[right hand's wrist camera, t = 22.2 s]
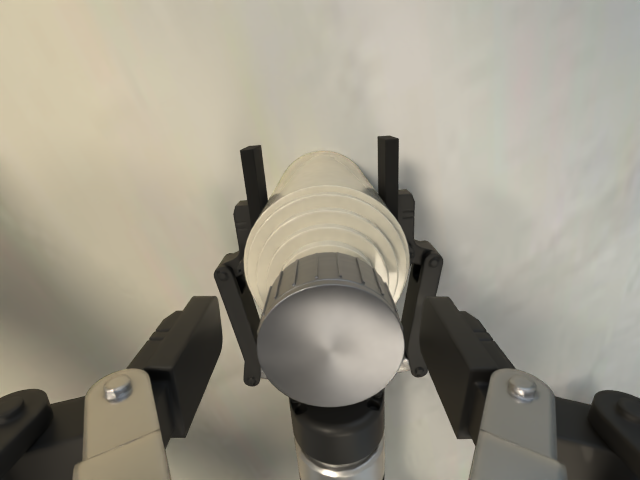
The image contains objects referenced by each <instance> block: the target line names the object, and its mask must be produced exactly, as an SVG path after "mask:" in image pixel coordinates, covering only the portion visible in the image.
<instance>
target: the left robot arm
mask: <svg viewBox="0 0 640 480" xmlns="http://www.w3.org/2000/svg"><path fill="white" fill-rule="evenodd" d="M240 154H241V160H242V167H243V174H244V181H245V187H246V194H247V200H244V201H240V202H239V203H238V204H237V205H236V206H235V210H234V214H233V215H234V221H235V227H236V233H237V239H238V245H239V251H238V252H236V253H229V254H227V255H226V256H225V257H224V258H223V260H222V261H221V263H220V264H219V266H218V267H217V269H216V270H215V272H214V278H215V281H216V283H217V286H218V289H219V292H220V294H221V297H222V300H223V303H224V305H225V308H226V311H227V313H228V316H229V319H230V322H231V324H232V327H233V330H234V333H235V335H236V338H237V341H238V344H239V346H240V349H241V352H242V355H243V357H244V360H245V365H244V382H245V384H246V385H248V386H256V385H258V384H259V382H260V378H263V379H268V378H267V377H266V375H265V374H264V372H263V370H262V368H261V366H260V363H259V360H258V356H257V348H256V347H257V336H258V335H257V331H258V327H259V324H260V318H259V315H258V312H257V309H256V306H255V303H254V300H253V297H252V294H251V291H250V289H249V287H248V284H247V281H246V277H245V272H244V251H245V246H246V242H247V239H248V236H249V234H250V232H251V229H252V228H253V226H254V224H255V223H256V221H257V219H258V217H259V216H260V214H261V212H262V210H263V209H264V207H265V205H266V204H267V202H268V198H267V190H266V182H265V174H264V166H263V158H262V150H261V145H256V146H248V147H246V148H244V149H242V150H240ZM398 163H399V139H398V138H395V137H392V136H378V195H379V196H380V197H381V199H382V200H383V202H384V203H385V204H386V206H387V207H388V208H389V210H390V211H391V213H392V214H393V215H394V217H395V218H396V220H397V221H398V223H399V224H400V226H401V228H402V230H403V232H404V234H405V237H406V240H407V243H408V248H409V255H410V266H411V264H412V266H411V271H410V277H409V282H408V288H407V293H406V298H405V304H404V309H403V315H402V320H401V324H402V326H403V332H404V337H405V352H404V357H403V361H402V363H401V366H400V368H399V370H398V372H397V373H399V372H404V371H408V370H411V373H412V375H413V376H415V377H423V376H424V375H426V373H427V372H428V368H427V366H426V364H425V361H424V359H423V357H422V354H421V350H420V344H419V334H420V326H421V317H422V309H423V302H424V299H425V297H436V293H437V288H438V284H439V279H440V275H441V270H442V265H443V259H442V257H441V255H440V254H439V253H438V252H437V251H436V250H435V248H434V247H433V246H432V245H431V244H430V243H429V242H428V241H418V240H415V239H414V210H415V201H414V199H413V196H412V194H411V193H410V192H409V191H408V190H406V189H403V190H398ZM410 266H409V268H410ZM384 389H385V388H383V389H382V390H381V391H379V392H378V393H377V394H375V395H373V396H372V397H370V398H368V399H366V400H364V401H361V402H358V403H355V404H351V405H347V406H340V407H319V406H313V405H308V404H305V403H301V402H299V401H297V400H294V399H292V398H290V397H289V402H290V409H291V417H292V424H293V432H294V436H295V438H294V440H295V447H296V454H297V461H298V468H299V475H300V480H384V469H385V436H384Z"/></svg>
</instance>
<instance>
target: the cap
mask: <svg viewBox="0 0 640 480" xmlns="http://www.w3.org/2000/svg"><path fill="white" fill-rule="evenodd" d="M257 335H258V336H257V347H256V348H257V356H258V360H259V363H260V366H261V368H262V370H263V372H264V374H265V375H266V377H267V378H268V380H269V381H270V382H271V383H272V384H273V385H274V386H275V387H276V388H277V389H278V390H279V391H281V392H282V393H284V394H285V395H287V396H288V397H290V398H292V399H294V400H297V401H299V402H301V403H305V404H308V405H313V406H319V407H340V406H347V405H351V404H355V403H358V402H361V401H364V400H366V399H368V398H370V397H372V396H373V395H375V394H377V393H378V392H379V391H381V390H382V389H383V388H385V387H386V386H387V385H388V384H389V383H390V382H391V380H392V379H393V378H394V376H395V375H396V373H397V372H398V370H399V368H400V366H401V363H402V361H403V357H404V352H405V337H404V332H403V326H402V324H401V321H400V318H399V316H398V313H397V308H396V306H395V303H394V300H393V298H392V295H391V293H390V290H389V288H388V285H387V283H386V282H385V283H384V281H383V279H382V278H381V276H380V275H379V274H378V273H377V272H376V269H375V268H372V267H371V266H370V265H368V264H367V263H365V262H364V261H362V260H360V259H359V258H358V257H353V256H351V255H347V254H343V253H339V252H336V253H335V252H323V253H315V254H312V255H308V256H305V257H303V258H300V259H297V260H296V261H295V262H293V263H291V264H290V265H289V266H287V267H286V268H285V269H284V270H283V271H280V274H279V275H278V277H277V278H276V279H275V281H274V283H273V285H272V286H270V288H269V291H268V295H267V298H266V302H265V305H264V309H263V312H262V317H261V320H260V324H259V327H258V331H257Z"/></svg>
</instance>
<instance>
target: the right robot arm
mask: <svg viewBox="0 0 640 480" xmlns="http://www.w3.org/2000/svg"><path fill="white" fill-rule="evenodd" d="M419 344H420V350H421V354H422V357H423V359H424V361H425V364H426V366H427V368H428V371H429V373H430V376H431V378H432V380H433V383H434V385H435V387H436V390H437V392H438V395H439V397H440V399H441V402H442V404H443V406H444V409H445V411H446V414H447V416H448V418H449V421H450V423H451V425H452V428H453V430H454V433H455V435H456V437H457V439H472V440H473V442H474V444H475V446H476V447H475V451H474V456H473V461H472V466H471V470H470V475H469V480H640V398H638V397H635V396H633V395H630V394H627V393H623V392H619V391H613V390H604V391H600V392H598V393H596V394H595V396H594V399H593V401H592V404H591V405H589V404H585V403H580V402H576V401H572V400H567V399H563V398H559V397H555V396H554V394H553V392H552V391H551V389H550V388H549V387H548V386H547V385H546V384H545V383H544V382H543V381H541V380H540V379H538V378H537V377H535V376H533V375H531V374H529V373H526V372H524V371H520V370H516V369H515V367H514V366H513V365H512V363H511V362H510V361H509V359H508V358H507V357H506V355H505V354H504V353H503V352H502V350H501V349H500V348H499V346H498V345H497V344H496V342H495V341H493V338H492V337H491V336H490V335H489V333H487V332H486V329H485V328H484V327H483V325H482V324H481V323H480V321H479V320H478V319H476V318H475V317H473V316H472V315H470V314H469V313H467V312H466V311H459V310H458V309H457V307H456V306H455V305H454V303H453V302H452V300H451V299H450V298H449V297H425V299H424V302H423V309H422V317H421V326H420V334H419ZM221 349H222V327H221V319H220V310H219V302H218V299H217V297H216V296H193V297H192V298H191V300H190V301H189V303H188V304H187V306H186V307H185V308H184V310H183V311H175V312H174V313H173V314H171V315H170V316H168V317H167V318H165V319H164V320H163V321H162V322H161V324H160V325H159V326H158V328H157V329H156V332H154V333H153V334H152V336H151V337H150V338H149V341H147V342H146V344H145V345H144V346H143V347H142V349H141V350H140V351H139V353H138V354H137V355H136V357H135V358H134V359H133V361H132V362H131V363H130V365H129V366H128V367H127V369H124V370H120V371H116V372H114V373H111V374H109V375H107V376H105V377H103V378H102V379H100V380H99V381H97V382H96V383H95V384H94V385H93V386H92V387H91V388H90V389H89V391H88V392H87V394H86V396H84V397H80V398H76V399H71V400H67V401H62V402H58V403H54V404H50V402H49V399H48V397H47V394H46V393H45V392H44V391H42V390H39V389H27V390H21V391H17V392H14V393H11V394H8V395H6V396H3V397H1V398H0V480H171V475H170V470H169V466H168V461H167V456H166V451H165V449H166V447H167V444H168V442H169V440H170V438H185V437H186V435H187V433H188V430H189V428H190V425H191V423H192V420H193V418H194V416H195V413H196V411H197V408H198V406H199V404H200V401H201V399H202V396H203V394H204V392H205V389H206V387H207V384H208V382H209V379H210V377H211V375H212V372H213V370H214V367H215V365H216V363H217V360H218V358H219V355H220V353H221Z"/></svg>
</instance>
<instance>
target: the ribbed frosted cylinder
mask: <svg viewBox="0 0 640 480" xmlns="http://www.w3.org/2000/svg"><path fill="white" fill-rule="evenodd" d="M323 252H335V253H336V252H339V253H343V254H347V255H351V256H353V257H358V258H359V259H360V260H362V261H364V262H365V263H367V264H368V265H370V266H371V267H372V268H375V269H376V272H377V273H378V274H379V275H380V276H381V278H382V279H383V281H384V283H385V282H386V283H387V285H388V288H389V290H390V293H391V295H392V298H393V300H394V303H395V304H396V303H397V301H398V299H399V298H400V295H401V293H402V291H403V289H404V287H405V284H406V281H407V277H408V273H409V266H410V255H409V248H408V243H407V240H406V237H405V234H404V232H403V230H402V228H401V226H400V224H399V223H398V221H397V220H396V218H395V217H394V215H393V214H392V213H391V211H390V210H389V208H388V207H387V206H386V204H385V203H384V202H383V200H382V199H381V197H380V196H379V195H378V193H377V192H376V191H375V189H374V188H373V186H372V185H371V184H370V182H369V181H368V180H367V178H366V177H365V175H364V174H363V173H362V171H361V170H360V169H359V167H358V166H357V165H356V164H355V163H354V162H353V161H351V160H350V159H348V158H347V157H345V156H343V155H341V154H338V153H335V152H330V151H316V152H312V153H308V154H306V155H303V156H302V157H300V158H298V159H297V160H295V161H294V162H293V163H292V164H291V165H290V166H289V167H288V168H287V170H286V171H285V173H284V174H283V176H282V178H281V179H280V181H279V183H278V185H277V186H276V188H275V190H274V192H273V193H272V195H271V197H270V198H269V200H268V202H267V204H266V205H265V207H264V209H263V210H262V212H261V214H260V216H259V217H258V219H257V221H256V223H255V224H254V226H253V228H252V229H251V232H250V234H249V236H248V239H247V242H246V246H245V251H244V272H245V277H246V281H247V284H248V287H249V289H250V291H251V293H252V295H253V297H254V299H255V301H256V302H257V304H258V305H259V307H260V308H261V310H262V311H263V309H264V305H265V302H266V298H267V295H268V291H269V288H270V286H272V285H273V283H274V281H275V279H276V278H277V277H278V275H279V274H280V271H283V270H284V269H285V268H286V267H287V266H289V265H290V264H291V263H293V262H295V261H296V260H297V259H300V258H303V257H305V256H308V255H312V254H315V253H323Z"/></svg>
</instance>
